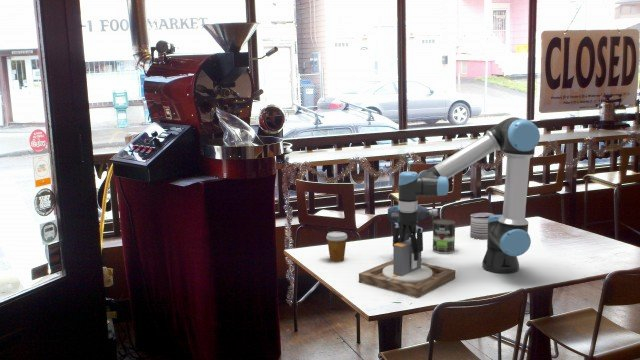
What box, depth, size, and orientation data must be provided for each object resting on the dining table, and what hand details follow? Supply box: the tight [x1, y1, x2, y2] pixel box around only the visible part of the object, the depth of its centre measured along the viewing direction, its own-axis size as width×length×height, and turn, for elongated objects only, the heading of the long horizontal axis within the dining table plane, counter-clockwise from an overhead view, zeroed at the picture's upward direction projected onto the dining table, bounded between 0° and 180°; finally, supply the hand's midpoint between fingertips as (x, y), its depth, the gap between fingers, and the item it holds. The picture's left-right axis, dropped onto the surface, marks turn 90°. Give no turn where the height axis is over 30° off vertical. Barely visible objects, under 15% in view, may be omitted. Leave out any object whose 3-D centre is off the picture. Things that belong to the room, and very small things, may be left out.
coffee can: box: [432, 218, 456, 255], centre depth 295 cm, size 10×10×14 cm
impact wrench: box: [387, 204, 440, 241], centre depth 282 cm, size 8×23×25 cm, turn 78°
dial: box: [383, 239, 432, 284], centre depth 255 cm, size 20×20×14 cm
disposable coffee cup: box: [326, 231, 348, 263], centre depth 284 cm, size 10×10×12 cm
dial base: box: [358, 259, 457, 298], centre depth 256 cm, size 28×28×4 cm
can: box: [469, 212, 495, 241], centre depth 318 cm, size 11×11×12 cm
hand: (407, 266), depth 255 cm, fingers open, 6 cm apart
